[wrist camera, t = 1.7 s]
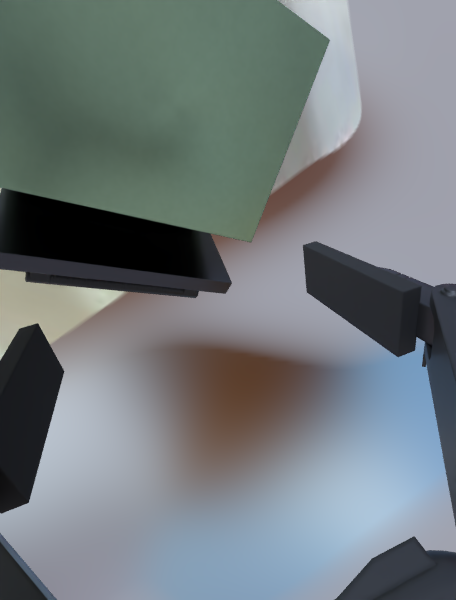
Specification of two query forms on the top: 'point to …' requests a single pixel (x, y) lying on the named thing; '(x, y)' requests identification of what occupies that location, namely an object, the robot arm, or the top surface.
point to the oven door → (105, 249)
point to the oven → (154, 105)
